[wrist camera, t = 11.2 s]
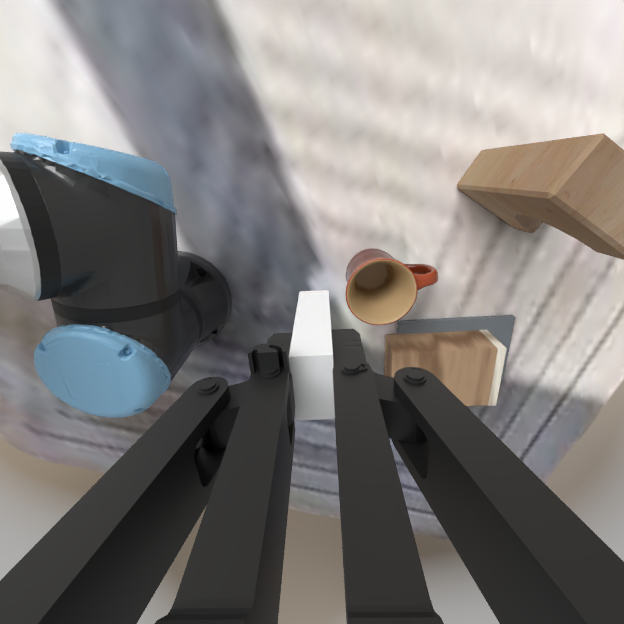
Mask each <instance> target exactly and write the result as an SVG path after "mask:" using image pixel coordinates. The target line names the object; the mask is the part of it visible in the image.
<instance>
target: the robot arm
mask: <svg viewBox="0 0 624 624" xmlns="http://www.w3.org/2000/svg"><path fill="white" fill-rule="evenodd" d="M10 145H11V149H13V151H15V152H0V289H1V290H5V291H7V292H9V293H12V294H14V295H16V296H18V297H20V298H23V299H25V300H27V301H39V300H44V299H50V298H51V301H52V305H53V309H54V314H55V318H56V323H57V327H55V328H54V329H52V330H50V331H48V332H47V333H46V334H45V335H44V336H43V339H42V341H41V342H40V343H39V344H38V345H37V347H36V349H35V353H34V365H35V369H36V371H37V374H38V375H39V377H40V379H41V381H42V382H43V384H44V385H45V386H46V387H47V388H48V389H49V390H50V391H51V392H52V393H53V394H54V395H55V396H56V397H58V398H59V399H60V400H61V401H63V402H66V403H68V404H69V405H71V406H72V407H74V408H75V409H78V410H80V411H82V412H85V413H88V414H91V415H95V416H100V417H108V418H121V417H128V416H133V415H136V414H138V413H141V412H143V411H144V410H146V409H147V408H149V407H150V406H151V405H152V404H153V403H154V402H155V401H156V400H157V399H158V398H159V397H160V396H161V394H163V393H164V392H165V391H166V390H167V389H168V387H169V386H170V385H169V384H170V383H171V381H172V379H173V378H174V376H175V375H176V373H177V372H178V371H179V369H180V368H181V366H182V365H183V364H184V362H185V361H186V359H187V358H188V356H189V355H190V354H191V352H192V351H193V349H194V348H195V347H197V346H199V345H201V344H203V343H205V342H208V341H209V340H211V339H212V338H214V337H215V336H216V335H217V334H218V333H219V332H220V331H221V329H222V328H223V326H224V325H225V323H226V322H227V320H228V318H229V315H230V311H231V295H230V291H229V288H228V285H227V283H226V281H225V279H224V278H223V276H222V275H221V274H220V272H219V271H218V270H217V269H216V268H215V267H214V266H213V265H212V264H210V263H209V262H208V261H206V260H205V259H203V258H201V257H199V256H197V255H194V254H191V253H187V252H181V251H177V237H176V223H175V215H177V211H176V209H175V208H174V203H173V194H172V186H171V180H170V177H169V175H168V173H167V171H166V170H165V169H164V168H163V167H162V166H161V165H159V164H158V163H156V162H154V161H151V160H148V159H145V158H141V157H137V156H134V155H130V154H126V153H122V152H117V151H113V150H109V149H104V148H100V147H95V146H91V145H86V144H81V143H76V142H68V141H65V140H59V139H54V138H50V137H46V136H40V135H34V134H27V133H16V134H14V135H13V141H12V142H11V144H10ZM248 358H249V364H250V370H251V376H250V379H249V380H248V381H245V382H243V383H239V384H235V385H231V386H228V382H227V381H226V380H225V379H224V378H221V377H208V378H204V379H202V380H200V381H197V382H196V383H194V384H193V385H192V386H191V387H190V388H189V389H188V390H187V391H186V392H185V393H184V394H183V395H182V396H181V397H180V398H179V399H178V400H177V401H176V402H175V403H174V404H173V405H172V406H171V407H170V408H169V409H168V410H167V411H166V412H165V413H164V414H163V415H162V416H161V417H160V418H159V419H158V420H157V421H156V422H155V423H154V424H153V425H152V426H151V427H150V428H149V429H148V430H147V431H146V433H145V434H144V435H143V436H142V437H141V438H140V439H139V440H138V441H137V442H136V443H135V444H134V445H133V446H132V447H131V448H130V449H129V450H128V451H127V452H126V453H125V454H124V455H123V456H122V457H121V458H120V459H119V460H118V461H117V462H116V463H115V464H114V465H113V466H112V467H111V468H110V469H109V470H108V471H107V472H106V473H105V474H104V475H103V476H102V478H100V479H99V481H98V482H97V483H96V484H95V485H94V486H93V487H92V488H91V489H90V490H89V491H88V492H87V493H86V494H85V495H84V496H83V497H82V498H81V499H80V500H79V501H78V502H77V503H76V504H75V505H74V506H73V507H72V508H71V509H70V510H69V511H68V512H67V513H66V514H65V515H64V516H63V517H62V518H61V519H60V520H59V521H58V522H57V523H56V525H55V526H53V528H52V529H51V530H50V531H49V532H48V533H47V534H46V535H45V536H44V537H43V538H42V539H41V540H40V541H39V542H38V543H37V544H36V545H35V546H34V547H33V548H32V549H31V550H30V551H29V552H28V553H27V554H26V555H25V556H24V557H23V558H22V559H21V560H20V561H19V562H18V563H17V564H16V565H15V566H14V567H13V568H12V569H11V570H10V571H9V572H8V573H7V574H6V576H5V577H4V578H3V579H2V580H1V581H0V624H137V622H138V620H139V618H140V617H141V615H142V613H143V612H144V610H145V608H146V607H147V605H148V603H149V602H150V600H151V598H152V596H153V595H154V593H155V591H156V590H157V588H158V586H159V585H160V583H161V581H162V579H163V578H164V576H165V574H166V573H167V571H168V569H169V568H170V566H171V564H172V563H173V561H174V559H175V557H176V556H177V554H178V552H179V551H180V549H181V547H182V545H183V544H184V542H185V540H186V539H187V537H188V535H189V534H190V532H191V530H192V528H193V527H194V525H195V523H196V522H197V520H198V519H199V517H200V515H201V513H202V512H203V510H204V508H205V506H206V505H207V506H206V509H205V513H204V515H203V518H202V522H201V524H200V527H199V530H198V533H197V536H196V539H195V542H194V545H193V548H192V551H191V554H190V557H189V560H188V563H187V566H186V569H185V572H184V575H183V578H182V581H181V584H180V587H179V590H178V593H177V596H176V599H175V601H174V604H173V606H172V609H171V610H170V612H169V613H168V615H166V616H164V617H163V618H161V619H159V620H157V621H156V623H155V624H278V613H279V602H280V592H281V580H282V570H283V559H284V548H285V537H286V526H287V514H288V504H289V493H290V482H291V471H292V460H293V449H294V438H295V425H294V414H295V419H296V420H322V419H335V427H336V446H337V462H338V479H339V497H340V514H341V530H342V549H343V566H344V582H345V600H346V618H347V624H444V623H443V621H442V619H441V617H440V616H439V615H438V614H437V613H436V612H435V611H434V609H433V606H432V604H431V600H430V597H429V593H428V589H427V586H426V581H425V577H424V574H423V570H422V566H421V562H420V558H419V554H418V550H417V546H416V542H415V538H414V534H413V530H412V527H411V523H410V519H409V515H408V511H407V507H406V503H405V499H404V495H403V491H402V487H401V484H400V480H399V476H398V472H397V468H396V464H395V460H394V456H393V452H392V448H391V445H390V441H389V438H392V442H393V445H394V446H395V448H396V450H397V451H398V453H399V455H400V456H401V458H402V460H403V461H404V463H405V465H406V467H407V468H408V470H409V472H410V473H411V475H412V477H413V478H414V480H415V482H416V483H417V485H418V487H419V488H420V490H421V492H422V493H423V495H424V497H425V498H426V500H427V502H428V503H429V505H430V507H431V509H432V510H433V512H434V514H435V515H436V517H437V519H438V520H439V522H440V524H441V525H442V527H443V529H444V530H445V532H446V534H447V535H448V537H449V539H450V540H451V542H452V544H453V545H454V547H455V549H456V550H457V552H458V554H459V556H460V557H461V559H462V560H463V562H464V564H465V566H466V567H467V569H468V571H469V572H470V574H471V576H472V577H473V579H474V581H475V582H476V584H477V586H478V587H479V589H480V591H481V593H482V594H483V596H484V597H485V599H486V601H487V603H488V604H489V606H490V608H491V609H492V611H493V613H494V614H495V616H496V618H497V619H498V621H499V623H500V624H624V562H623V561H622V560H621V559H620V558H619V557H618V556H617V555H616V554H615V553H614V552H613V551H612V550H611V549H610V548H609V547H608V546H607V545H606V544H605V543H604V542H603V541H602V540H601V539H600V538H599V537H598V536H597V535H596V534H595V533H594V532H593V531H592V530H591V529H590V528H589V527H588V526H587V525H586V524H585V523H584V522H583V521H582V520H581V519H580V518H579V517H577V515H576V514H575V513H574V512H573V511H572V510H571V509H570V508H569V507H567V506H566V505H565V503H563V502H562V501H561V500H560V499H559V498H558V497H557V496H556V495H555V494H554V493H553V492H552V491H551V490H550V489H549V488H548V487H547V486H546V485H545V484H544V483H543V482H542V481H541V480H540V479H539V478H538V477H537V476H536V475H535V474H534V473H533V472H532V471H531V470H530V469H529V468H528V467H527V466H526V465H525V464H524V463H523V462H522V461H521V460H520V459H519V458H518V457H517V456H516V455H515V454H514V453H513V452H512V451H511V450H510V449H509V448H508V447H507V446H506V445H505V444H504V443H503V442H502V441H501V440H500V439H499V438H498V437H497V436H496V435H495V434H494V433H493V432H492V431H491V430H490V429H488V428H487V427H486V426H485V425H484V424H483V423H482V422H481V421H480V420H479V419H478V418H477V417H476V416H475V415H474V414H473V413H472V412H471V411H470V410H469V409H468V408H467V407H466V406H465V405H464V404H463V403H462V402H461V401H460V400H459V399H458V398H457V397H456V396H455V395H454V394H453V393H452V392H451V391H450V390H449V389H448V388H447V387H446V386H445V385H444V384H443V383H442V382H441V381H440V380H439V379H438V378H437V377H436V376H435V375H434V374H432V373H431V372H429V371H428V370H425V369H422V368H419V367H405V368H402V369H399V370H398V371H397V372H395V375H394V377H388V376H383V375H379V374H377V373H375V372H373V371H372V370H371V367H370V366H369V364H367V363H366V359H365V355H364V351H363V347H362V343H361V339H360V334H359V333H358V332H357V331H355V330H354V329H340V330H331V321H330V307H329V293H328V290H318V291H300V292H299V298H298V304H297V310H296V316H295V322H294V328H293V333H278V334H273V335H272V336H271V337H270V338H269V339H268V341H267V344H261V345H258V346H256V347H254V348H252V349H251V350H250V351H249V352H248Z"/></svg>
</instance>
